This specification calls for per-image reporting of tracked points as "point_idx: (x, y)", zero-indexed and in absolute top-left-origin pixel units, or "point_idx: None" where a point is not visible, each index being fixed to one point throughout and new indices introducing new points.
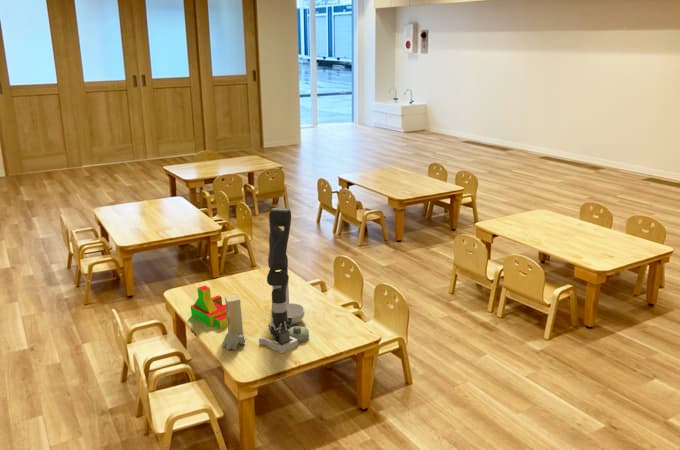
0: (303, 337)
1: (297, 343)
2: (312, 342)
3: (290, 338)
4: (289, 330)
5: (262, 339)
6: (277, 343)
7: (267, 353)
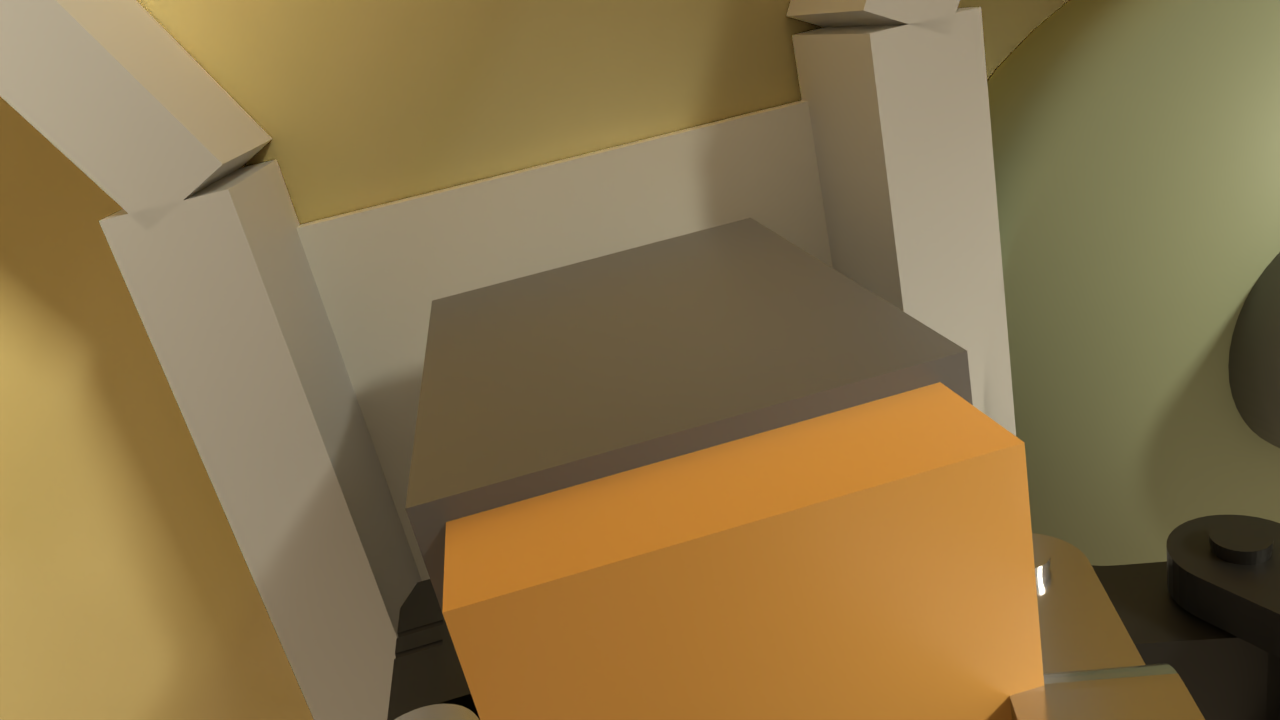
0: None
1: None
2: None
3: None
4: (1250, 98)
5: (10, 87)
6: None
7: (58, 675)
